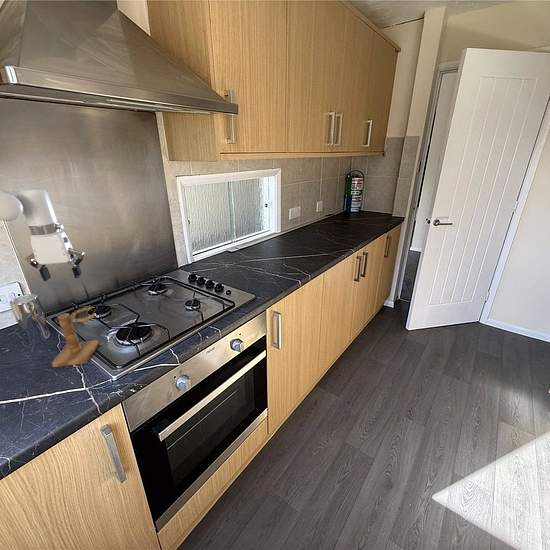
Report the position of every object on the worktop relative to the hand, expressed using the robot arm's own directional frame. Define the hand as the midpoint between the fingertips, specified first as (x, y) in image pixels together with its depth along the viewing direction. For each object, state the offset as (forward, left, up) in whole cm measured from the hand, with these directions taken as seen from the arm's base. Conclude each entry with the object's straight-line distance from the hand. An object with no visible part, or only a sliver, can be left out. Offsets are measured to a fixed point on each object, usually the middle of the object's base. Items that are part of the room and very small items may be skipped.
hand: (63, 278), depth 100 cm
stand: (+10, -23, -16) cm, 30 cm away
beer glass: (-5, -13, -16) cm, 21 cm away
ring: (+3, 0, -15) cm, 15 cm away
